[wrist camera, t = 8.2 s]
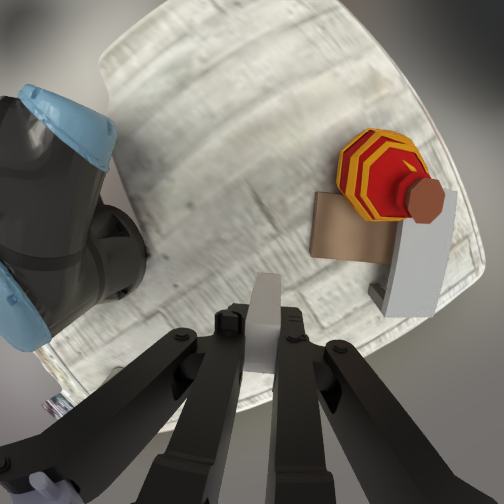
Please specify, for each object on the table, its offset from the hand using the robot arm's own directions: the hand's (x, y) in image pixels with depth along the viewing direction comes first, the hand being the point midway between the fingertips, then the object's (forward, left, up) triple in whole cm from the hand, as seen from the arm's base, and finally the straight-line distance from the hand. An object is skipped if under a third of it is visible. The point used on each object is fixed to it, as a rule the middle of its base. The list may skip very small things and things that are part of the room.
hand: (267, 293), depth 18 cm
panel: (+12, +2, -19) cm, 23 cm away
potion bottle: (+10, +11, -18) cm, 23 cm away
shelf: (+18, +1, -19) cm, 26 cm away
